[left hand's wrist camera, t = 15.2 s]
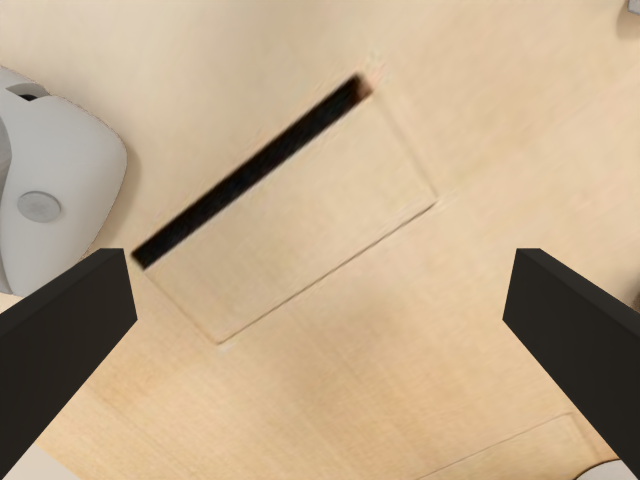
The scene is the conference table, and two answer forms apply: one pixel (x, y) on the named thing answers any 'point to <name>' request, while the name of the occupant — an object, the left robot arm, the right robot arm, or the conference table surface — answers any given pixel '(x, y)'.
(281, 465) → the conference table surface
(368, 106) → the conference table surface
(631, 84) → the conference table surface
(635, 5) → the fish
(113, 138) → the projector
